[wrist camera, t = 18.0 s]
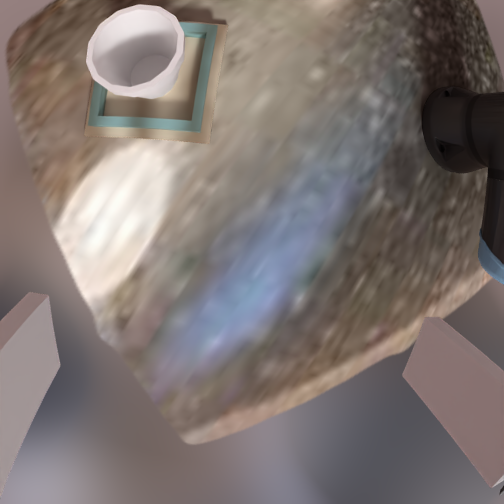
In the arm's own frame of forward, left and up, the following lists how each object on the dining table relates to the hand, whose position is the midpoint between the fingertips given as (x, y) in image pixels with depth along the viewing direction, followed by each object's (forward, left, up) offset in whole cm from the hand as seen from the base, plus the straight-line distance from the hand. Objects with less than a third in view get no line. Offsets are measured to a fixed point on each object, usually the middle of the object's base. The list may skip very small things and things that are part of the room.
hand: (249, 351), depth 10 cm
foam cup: (+10, -15, -34) cm, 39 cm away
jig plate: (+10, -16, -35) cm, 39 cm away
